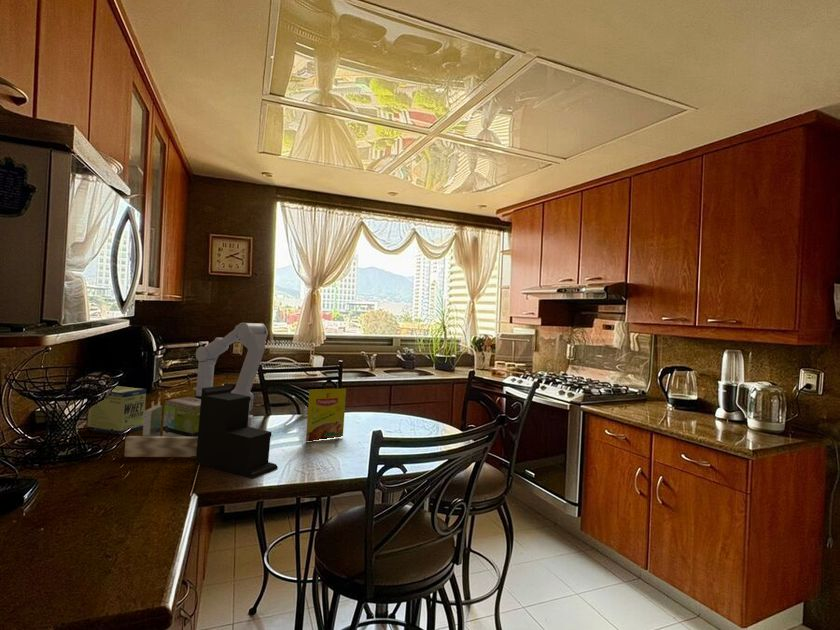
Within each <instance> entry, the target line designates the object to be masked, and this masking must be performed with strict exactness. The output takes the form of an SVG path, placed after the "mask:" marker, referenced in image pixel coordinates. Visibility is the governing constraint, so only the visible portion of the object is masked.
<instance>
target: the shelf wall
mask: <svg viewBox="0 0 840 630" xmlns="http://www.w3.org/2000/svg"><path fill="white" fill-rule="evenodd" d="M197 440H198V437H181V436H163V435H160V436H143V435H128V436H126V437H125V443H124V444H125V445H124V457H125V458H129V457H130V458H135V457H136V458H142V457H143V458H192V457H191V456H196V452H197Z"/></svg>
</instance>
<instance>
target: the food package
mask: <svg viewBox="0 0 840 630" xmlns="http://www.w3.org/2000/svg"><path fill="white" fill-rule="evenodd" d="M308 391H309V393H308V405H307V407H308V408H307V418H306V420H307V421H306V435H305V436H306V437H305V442H306V441H313V440H319V439H327V438H334V437H341V436H343V437H344V426H345V425H344V423H345V410H346V395H347V388H323V389H319V388H318V389H309V390H308Z"/></svg>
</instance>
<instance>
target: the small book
mask: <svg viewBox="0 0 840 630" xmlns="http://www.w3.org/2000/svg"><path fill="white" fill-rule="evenodd" d="M162 414H163V405H154V406H152V407H150V408H148V409H145V412H144V425H143V429H142V436H161V428H162V427H161V426H162V416H163V415H162Z"/></svg>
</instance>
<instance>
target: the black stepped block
mask: <svg viewBox="0 0 840 630" xmlns="http://www.w3.org/2000/svg"><path fill="white" fill-rule="evenodd" d="M231 391H232V385H231V384H224V385H217V386H216V385H215V386H213V387H206V388H202V394H201V406H200V417H199V429H198V440H197V452H196V457H195V463H196V464H199V465H203V466H206V467H210V468H212V469H213V468H214V469H216V470H220V471H223V472H227V473H231V474H234V475H237V476H238V475H239V476H242V477H245V478H249V479H255V478H257V477H260V476H262V475H266V474H267V473H270V472H273V471H275V470H278V465H277V463H273V462H270V461H269V460H270V459H269V458H270V457H269V456H270V447H271V446H270V445H271V437H272V431H268V430H264V429H259V428H255V427H253V428H251V427H248V415H250V411H249V401H250V399H251V397H250V396H246V395H240V394H234V393H231Z"/></svg>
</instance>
